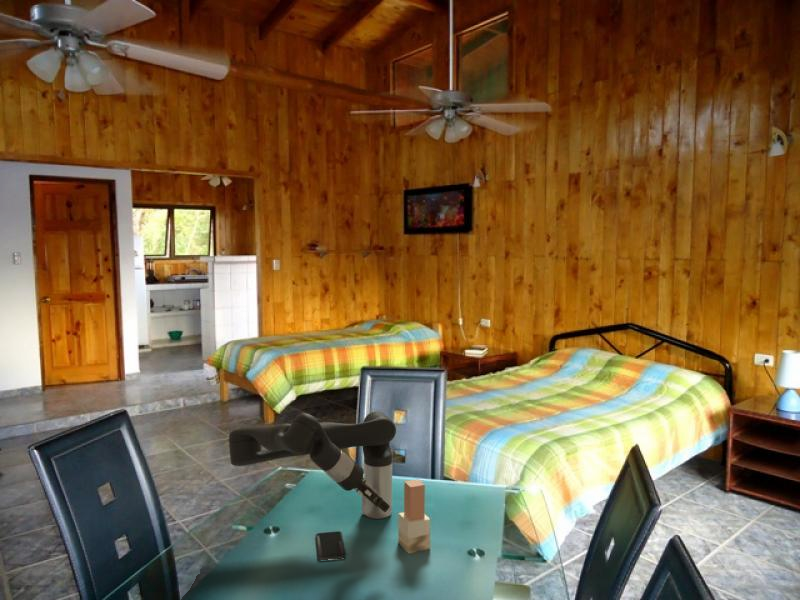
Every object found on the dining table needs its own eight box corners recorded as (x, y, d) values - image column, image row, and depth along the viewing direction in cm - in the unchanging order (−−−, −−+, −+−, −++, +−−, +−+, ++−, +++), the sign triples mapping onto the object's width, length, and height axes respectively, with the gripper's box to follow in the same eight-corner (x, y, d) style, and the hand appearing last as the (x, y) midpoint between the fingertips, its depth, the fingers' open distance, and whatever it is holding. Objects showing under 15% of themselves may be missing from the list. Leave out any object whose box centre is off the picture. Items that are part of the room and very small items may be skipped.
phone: (318, 559, 159) (315, 533, 174) (318, 563, 159) (315, 536, 174) (346, 556, 161) (341, 530, 176) (346, 560, 161) (341, 534, 176)
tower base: (408, 554, 164) (408, 538, 164) (398, 542, 170) (398, 528, 170) (430, 549, 167) (430, 534, 167) (419, 538, 173) (419, 523, 173)
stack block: (410, 520, 165) (410, 487, 164) (404, 514, 169) (404, 481, 168) (424, 518, 167) (424, 484, 166) (418, 511, 171) (418, 479, 170)
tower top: (407, 538, 164) (408, 523, 164) (398, 527, 170) (398, 513, 170) (430, 534, 167) (430, 519, 166) (419, 523, 173) (420, 509, 173)
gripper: (325, 471, 163) (363, 503, 168) (342, 490, 150) (382, 524, 155) (343, 450, 164) (379, 483, 170) (361, 467, 152) (400, 502, 157)
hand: (381, 503), depth 163 cm, fingers open, 8 cm apart
